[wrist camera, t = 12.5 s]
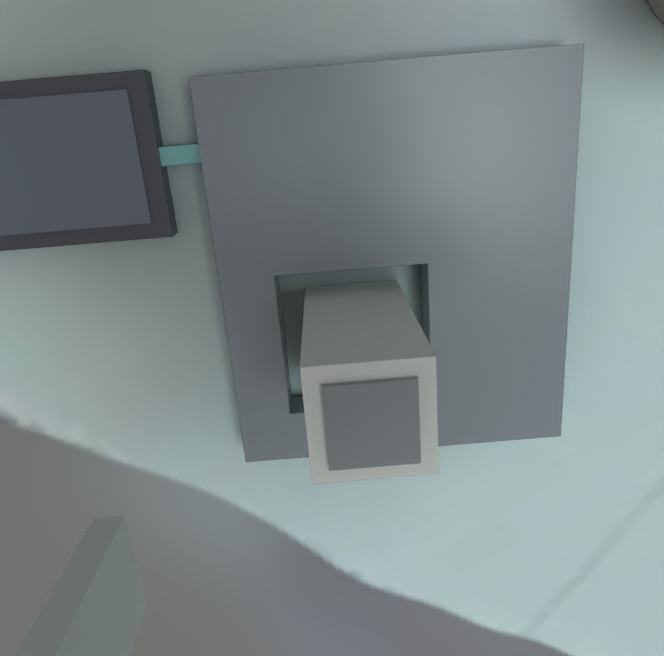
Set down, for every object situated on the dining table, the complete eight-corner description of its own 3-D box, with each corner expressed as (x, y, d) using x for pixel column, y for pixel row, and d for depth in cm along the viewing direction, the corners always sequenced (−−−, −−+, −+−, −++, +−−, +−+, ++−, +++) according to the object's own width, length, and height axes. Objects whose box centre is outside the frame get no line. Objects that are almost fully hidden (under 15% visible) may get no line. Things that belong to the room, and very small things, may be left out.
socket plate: (198, 80, 25) (188, 76, 23) (564, 49, 25) (584, 43, 23) (250, 441, 31) (245, 461, 29) (545, 417, 31) (560, 435, 29)
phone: (-126, 95, 25) (-146, 93, 24) (334, 56, 25) (335, 53, 24) (-75, 253, 27) (-91, 259, 26) (345, 218, 27) (346, 222, 26)
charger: (305, 287, 28) (299, 370, 19) (396, 279, 28) (437, 359, 19) (313, 371, 30) (312, 488, 20) (400, 363, 30) (439, 477, 20)
